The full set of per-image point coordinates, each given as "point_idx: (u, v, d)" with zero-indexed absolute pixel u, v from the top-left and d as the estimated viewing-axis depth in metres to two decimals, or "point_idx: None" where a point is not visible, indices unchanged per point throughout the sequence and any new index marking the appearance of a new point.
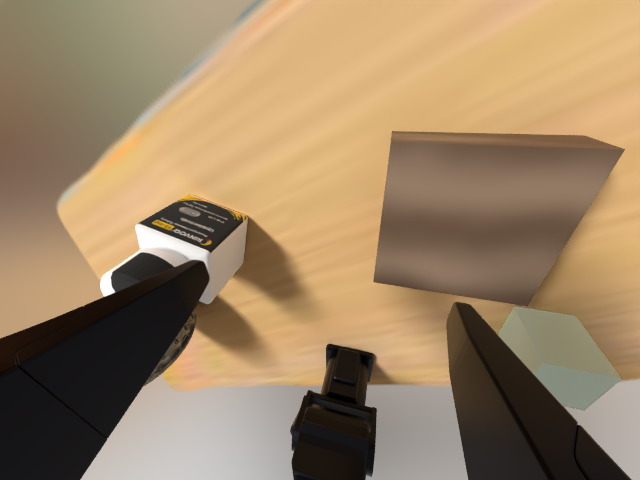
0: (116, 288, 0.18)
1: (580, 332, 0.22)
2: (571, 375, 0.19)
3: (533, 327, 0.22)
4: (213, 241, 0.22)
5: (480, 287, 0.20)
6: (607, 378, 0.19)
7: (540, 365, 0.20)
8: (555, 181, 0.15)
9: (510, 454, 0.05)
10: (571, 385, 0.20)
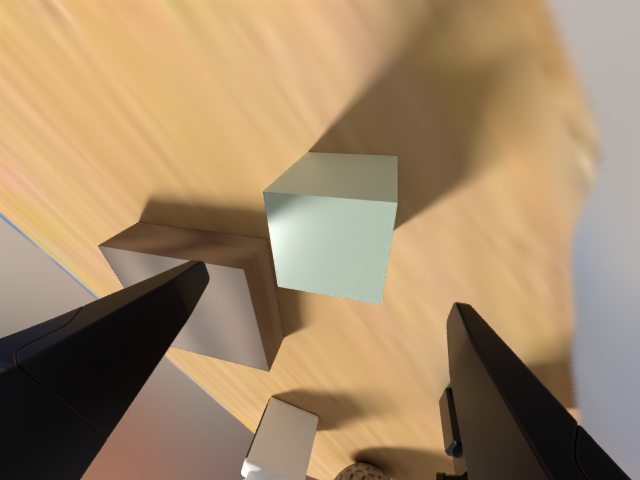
0: None
1: None
2: (288, 252, 0.11)
3: None
4: (250, 445, 0.30)
5: (238, 306, 0.18)
6: (272, 208, 0.10)
7: (284, 287, 0.12)
8: (132, 273, 0.19)
9: (510, 454, 0.05)
10: (316, 244, 0.10)
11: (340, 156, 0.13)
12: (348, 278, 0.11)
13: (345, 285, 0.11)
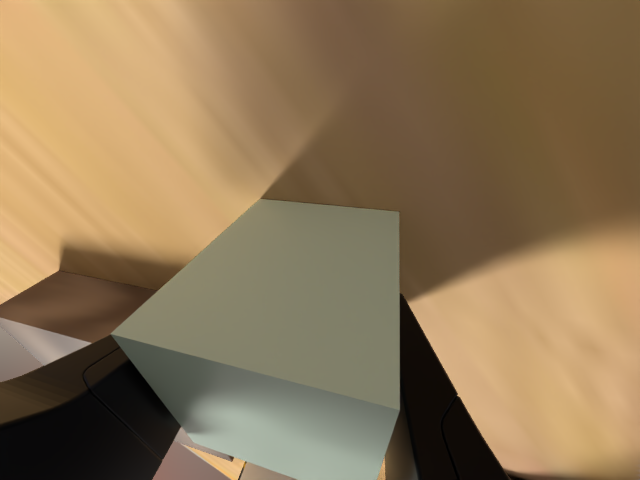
0: None
1: None
2: (192, 415, 0.06)
3: None
4: None
5: None
6: (140, 360, 0.05)
7: (203, 444, 0.07)
8: (38, 346, 0.14)
9: (399, 423, 0.05)
10: (237, 419, 0.05)
11: (306, 212, 0.08)
12: (305, 467, 0.06)
13: (302, 471, 0.06)
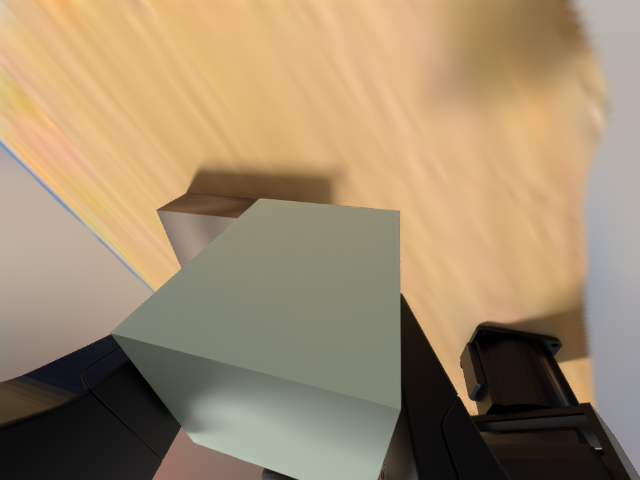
0: None
1: None
2: (193, 415, 0.06)
3: None
4: None
5: None
6: (140, 359, 0.05)
7: (204, 444, 0.07)
8: (184, 236, 0.22)
9: (399, 423, 0.05)
10: (238, 419, 0.05)
11: (306, 211, 0.08)
12: (306, 466, 0.06)
13: (302, 471, 0.06)
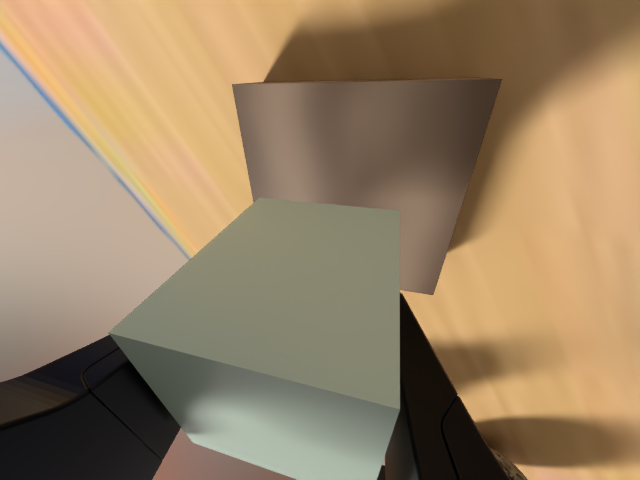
0: None
1: None
2: (192, 414, 0.06)
3: None
4: None
5: (445, 169, 0.12)
6: (139, 359, 0.05)
7: (202, 444, 0.07)
8: (273, 134, 0.13)
9: (398, 423, 0.05)
10: (236, 419, 0.05)
11: (306, 211, 0.08)
12: (305, 466, 0.06)
13: (301, 471, 0.06)
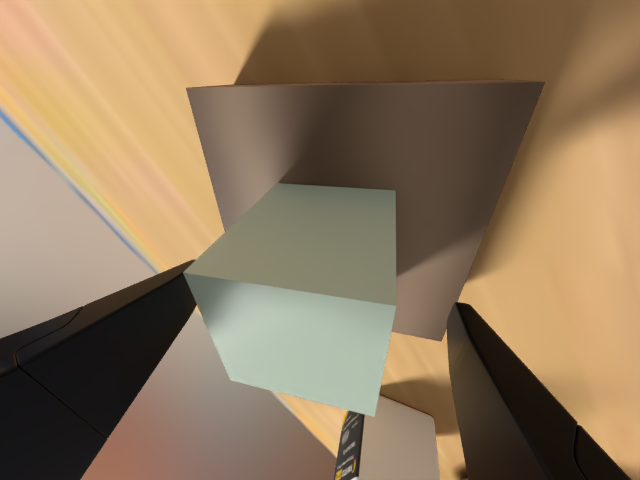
0: None
1: None
2: (236, 346, 0.07)
3: None
4: (356, 457, 0.21)
5: (461, 198, 0.09)
6: (202, 295, 0.06)
7: (238, 381, 0.09)
8: (241, 151, 0.11)
9: (510, 454, 0.05)
10: (274, 343, 0.07)
11: (317, 192, 0.10)
12: (325, 384, 0.07)
13: (321, 391, 0.08)
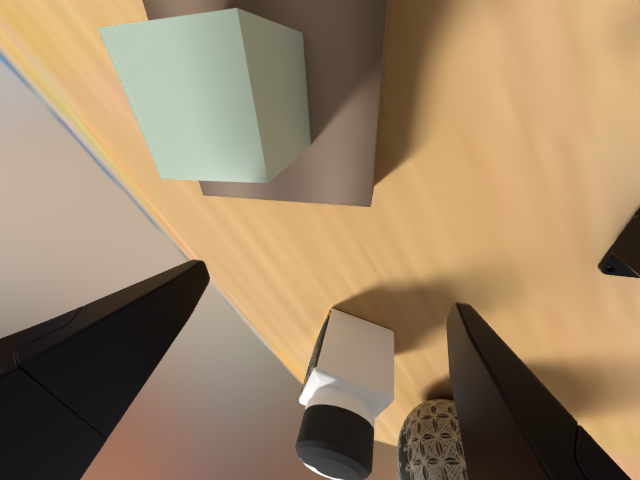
0: (304, 462, 0.19)
1: None
2: (153, 122, 0.09)
3: None
4: (316, 355, 0.23)
5: (357, 37, 0.11)
6: (116, 54, 0.08)
7: (167, 178, 0.11)
8: None
9: (510, 454, 0.05)
10: (176, 102, 0.09)
11: None
12: (224, 149, 0.09)
13: (224, 161, 0.10)
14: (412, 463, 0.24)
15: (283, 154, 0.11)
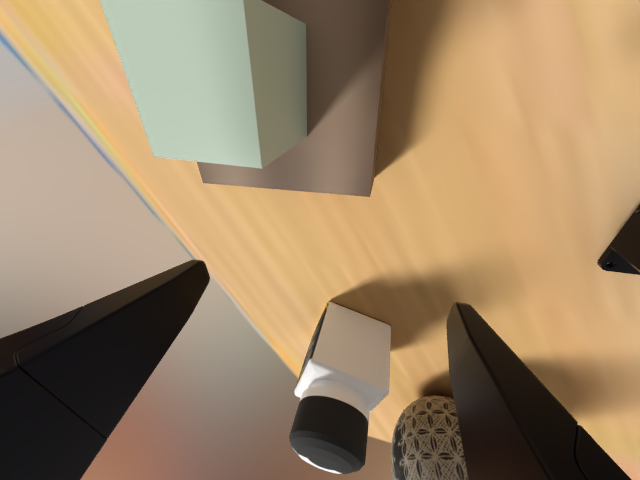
0: (298, 452, 0.19)
1: None
2: (150, 98, 0.09)
3: None
4: (312, 347, 0.23)
5: (359, 22, 0.11)
6: (116, 25, 0.08)
7: (160, 157, 0.11)
8: None
9: (510, 454, 0.05)
10: (175, 79, 0.09)
11: None
12: (220, 131, 0.09)
13: (219, 143, 0.10)
14: (406, 458, 0.24)
15: (278, 141, 0.11)
